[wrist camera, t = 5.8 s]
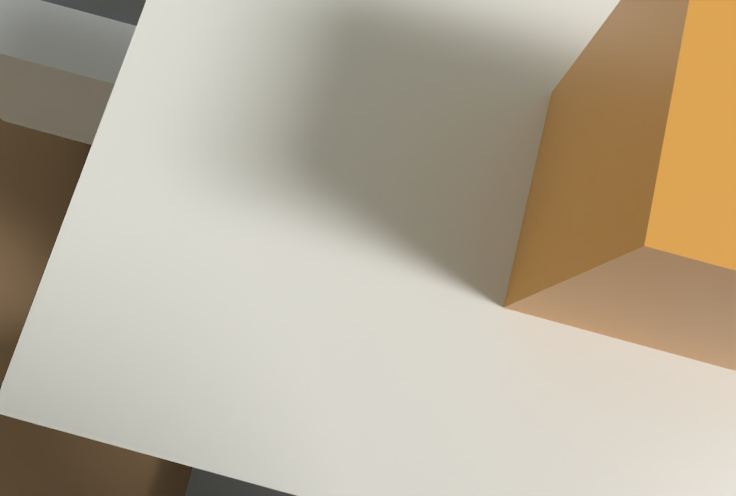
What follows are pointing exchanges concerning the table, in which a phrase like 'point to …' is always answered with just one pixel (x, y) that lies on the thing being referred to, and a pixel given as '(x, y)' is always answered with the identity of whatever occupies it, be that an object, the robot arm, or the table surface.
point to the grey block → (77, 101)
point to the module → (406, 250)
